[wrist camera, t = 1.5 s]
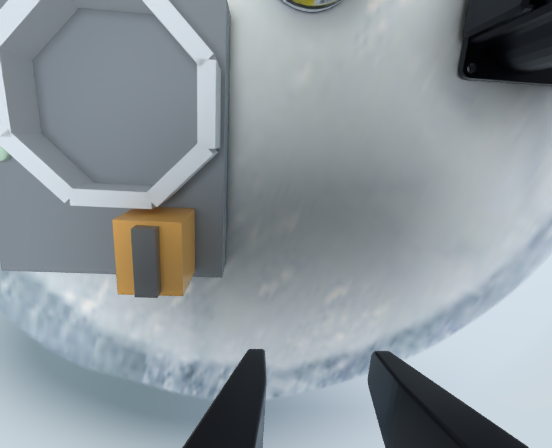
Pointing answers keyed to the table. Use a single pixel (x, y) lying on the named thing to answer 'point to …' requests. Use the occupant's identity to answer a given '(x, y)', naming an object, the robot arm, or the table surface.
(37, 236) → the octagon socket plate
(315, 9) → the supplement bottle
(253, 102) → the table surface
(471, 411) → the robot arm
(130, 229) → the orange block
